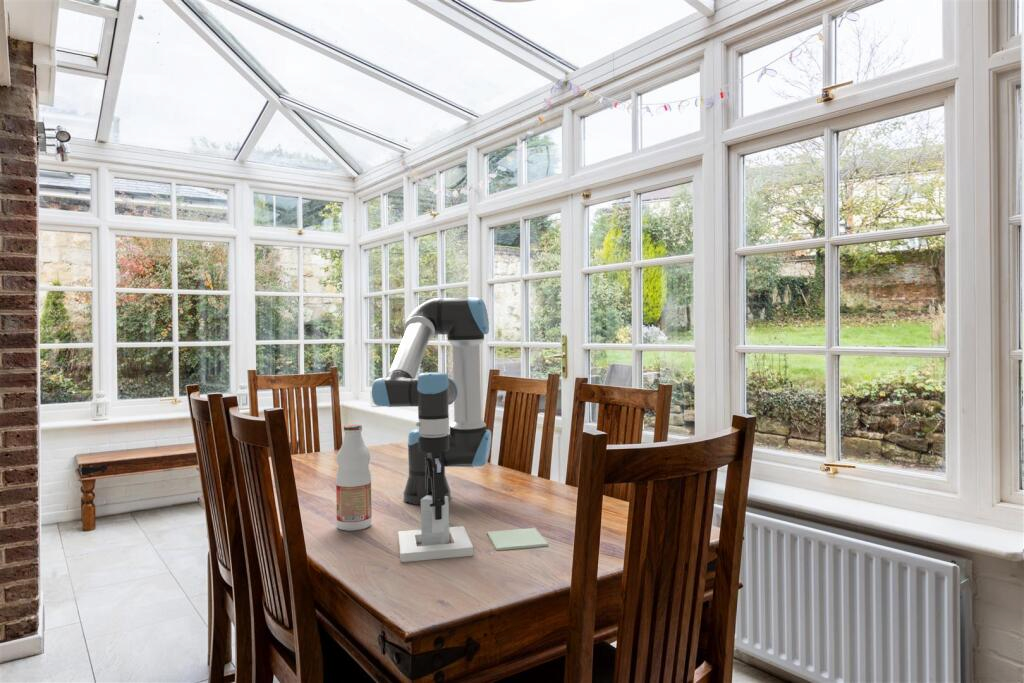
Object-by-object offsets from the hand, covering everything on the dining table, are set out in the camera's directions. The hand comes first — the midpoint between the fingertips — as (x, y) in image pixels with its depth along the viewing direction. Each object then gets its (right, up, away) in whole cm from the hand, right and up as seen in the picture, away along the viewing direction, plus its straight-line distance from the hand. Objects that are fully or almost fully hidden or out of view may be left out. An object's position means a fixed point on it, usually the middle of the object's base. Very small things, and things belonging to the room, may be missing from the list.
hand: (435, 527), depth 152 cm
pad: (+20, -4, +4) cm, 21 cm away
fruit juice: (-25, -5, +18) cm, 31 cm away
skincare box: (0, -5, 0) cm, 5 cm away
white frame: (0, -5, 0) cm, 5 cm away
